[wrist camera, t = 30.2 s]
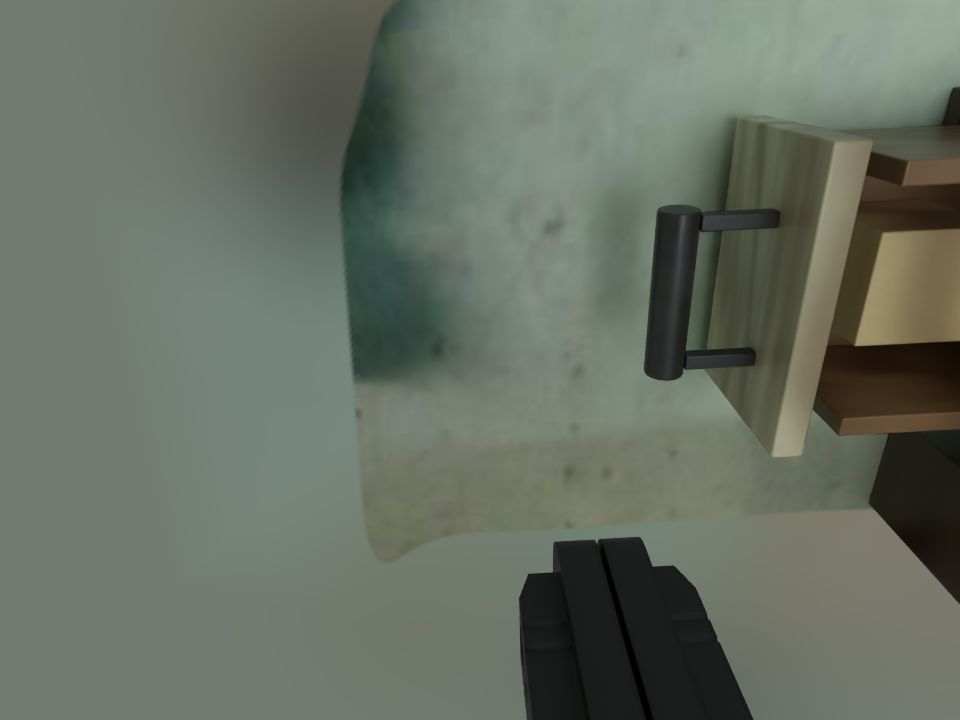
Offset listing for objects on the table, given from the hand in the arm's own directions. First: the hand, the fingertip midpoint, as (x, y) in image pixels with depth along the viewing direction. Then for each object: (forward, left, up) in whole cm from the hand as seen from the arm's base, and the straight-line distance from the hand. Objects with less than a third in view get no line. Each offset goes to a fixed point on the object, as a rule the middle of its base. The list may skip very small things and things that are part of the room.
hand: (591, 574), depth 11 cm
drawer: (+12, +6, -18) cm, 23 cm away
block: (+13, +7, -17) cm, 22 cm away
